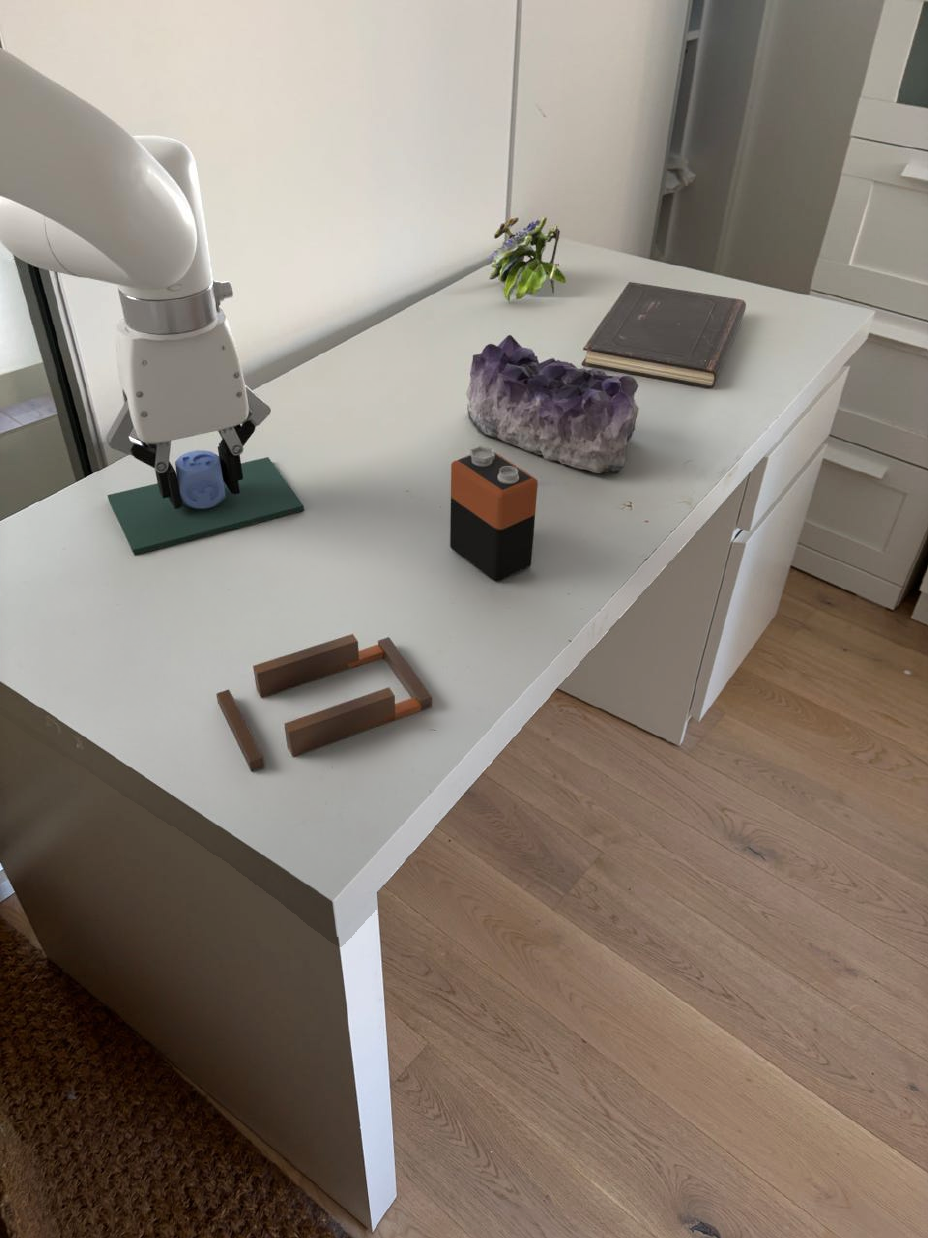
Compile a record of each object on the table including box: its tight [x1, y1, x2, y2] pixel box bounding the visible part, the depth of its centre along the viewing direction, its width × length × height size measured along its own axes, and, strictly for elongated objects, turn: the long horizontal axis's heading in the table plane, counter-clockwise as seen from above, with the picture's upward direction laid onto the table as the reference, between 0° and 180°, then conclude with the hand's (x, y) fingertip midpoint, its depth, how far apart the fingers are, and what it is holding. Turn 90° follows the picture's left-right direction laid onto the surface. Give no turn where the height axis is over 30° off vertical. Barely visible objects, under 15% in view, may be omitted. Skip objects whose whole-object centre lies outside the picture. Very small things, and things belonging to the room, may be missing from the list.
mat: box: [107, 456, 305, 556], centre depth 92 cm, size 16×10×1 cm, turn 118°
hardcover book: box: [581, 281, 747, 389], centre depth 122 cm, size 16×23×2 cm
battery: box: [449, 445, 539, 583], centre depth 83 cm, size 4×7×10 cm, turn 39°
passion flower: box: [488, 216, 567, 304], centre depth 133 cm, size 11×11×12 cm
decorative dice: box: [174, 449, 226, 509], centre depth 90 cm, size 4×4×4 cm
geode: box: [466, 334, 639, 474], centre depth 100 cm, size 20×12×10 cm, turn 59°
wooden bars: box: [215, 633, 433, 772], centre depth 71 cm, size 14×8×2 cm, turn 118°
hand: (203, 492), depth 91 cm, fingers closed on decorative dice, 4 cm apart
